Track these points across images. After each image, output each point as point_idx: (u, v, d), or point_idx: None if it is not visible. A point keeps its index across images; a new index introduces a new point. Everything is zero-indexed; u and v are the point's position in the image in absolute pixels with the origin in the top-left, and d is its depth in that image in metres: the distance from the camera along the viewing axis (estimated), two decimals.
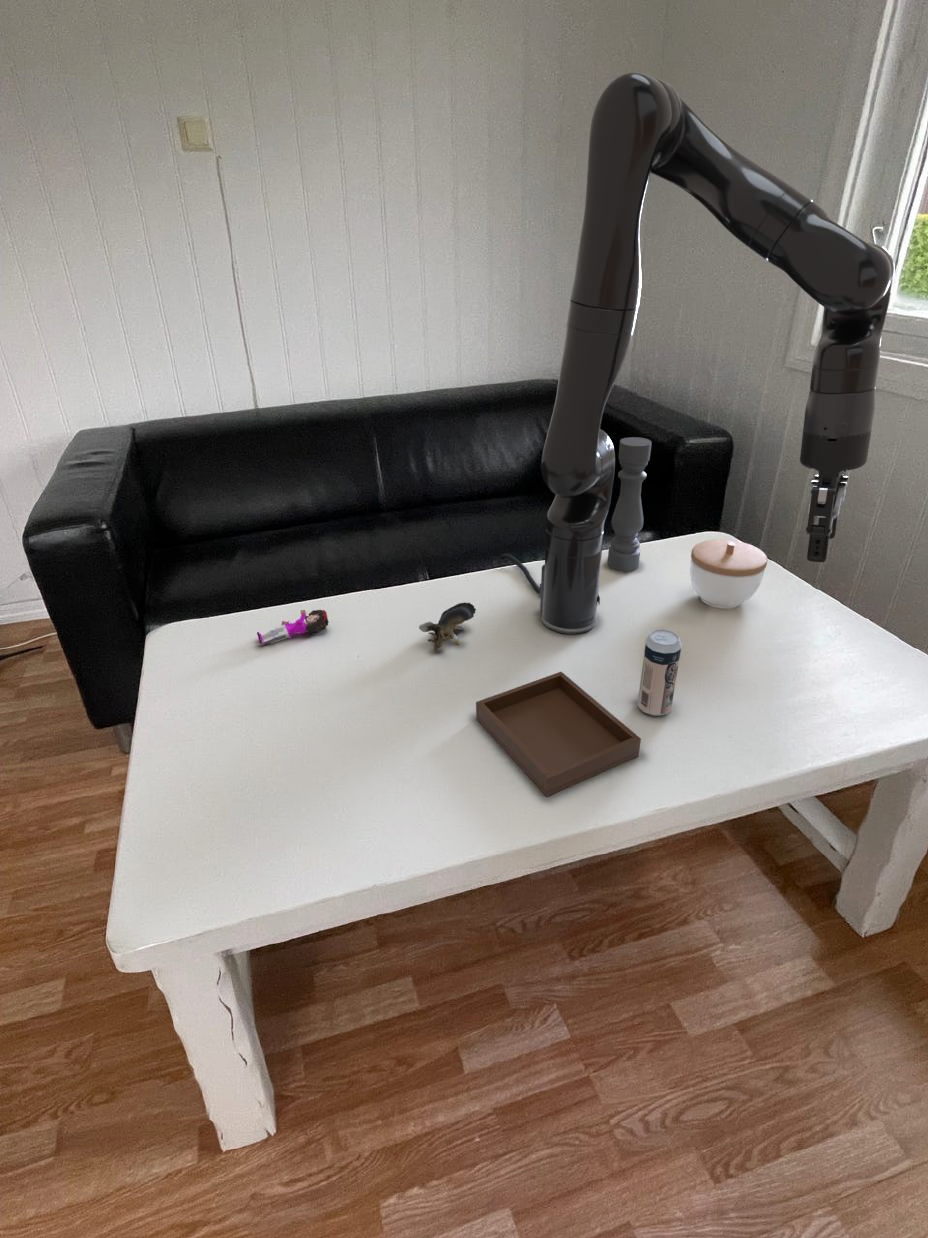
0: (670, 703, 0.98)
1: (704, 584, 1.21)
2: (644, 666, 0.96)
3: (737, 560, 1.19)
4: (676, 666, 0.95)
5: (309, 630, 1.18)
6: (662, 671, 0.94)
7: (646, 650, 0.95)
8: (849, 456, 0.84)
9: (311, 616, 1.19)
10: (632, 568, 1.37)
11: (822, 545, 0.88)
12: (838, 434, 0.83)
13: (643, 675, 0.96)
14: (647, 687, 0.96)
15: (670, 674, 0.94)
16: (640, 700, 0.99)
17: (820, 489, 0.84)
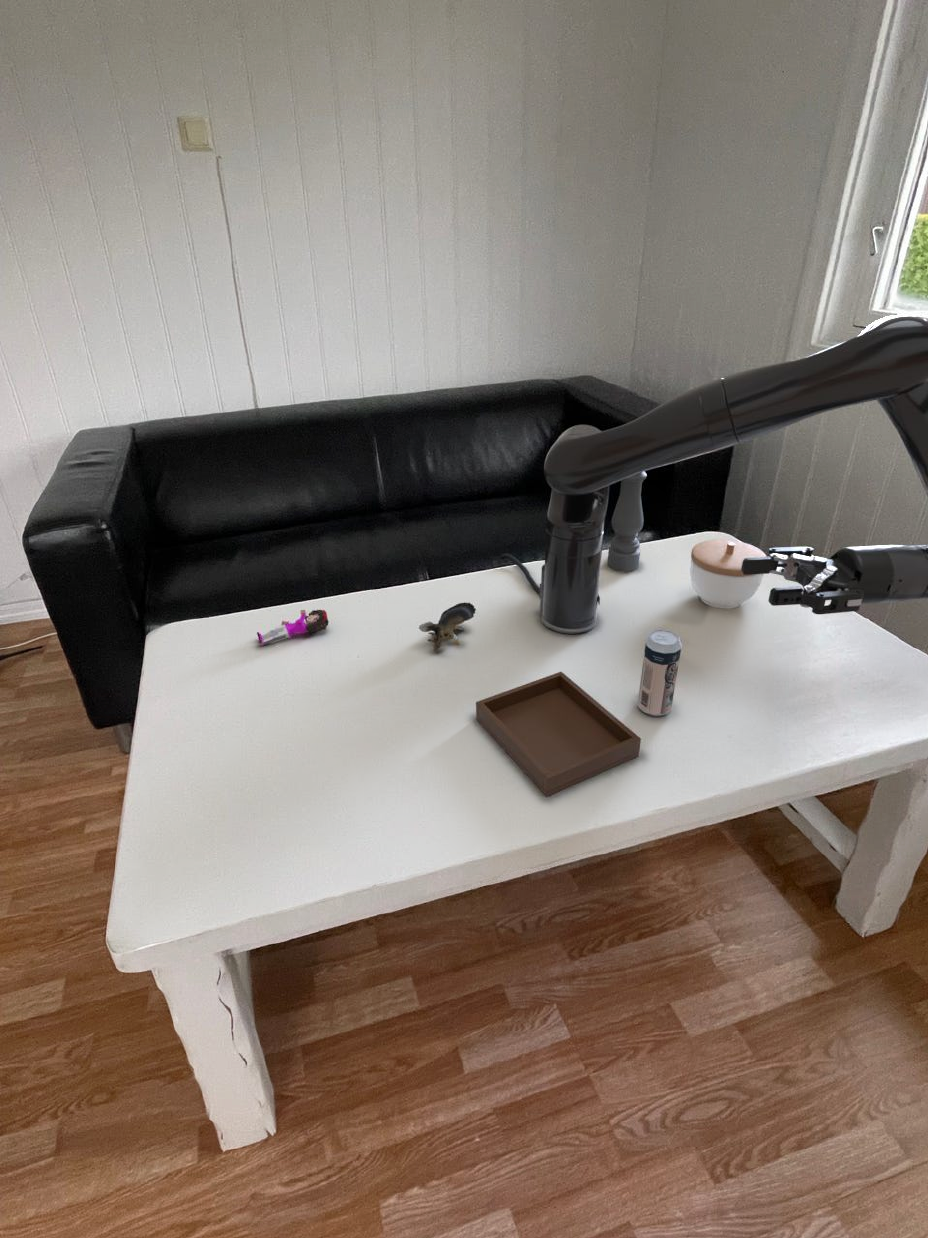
0: (670, 703, 0.98)
1: (704, 584, 1.21)
2: (644, 666, 0.96)
3: (737, 560, 1.19)
4: (676, 666, 0.95)
5: (309, 630, 1.18)
6: (662, 671, 0.94)
7: (646, 650, 0.95)
8: (865, 600, 0.89)
9: (311, 616, 1.19)
10: (632, 568, 1.37)
11: (793, 603, 0.86)
12: (892, 591, 0.88)
13: (643, 675, 0.96)
14: (647, 687, 0.96)
15: (670, 674, 0.94)
16: (640, 700, 0.99)
17: (862, 599, 0.85)
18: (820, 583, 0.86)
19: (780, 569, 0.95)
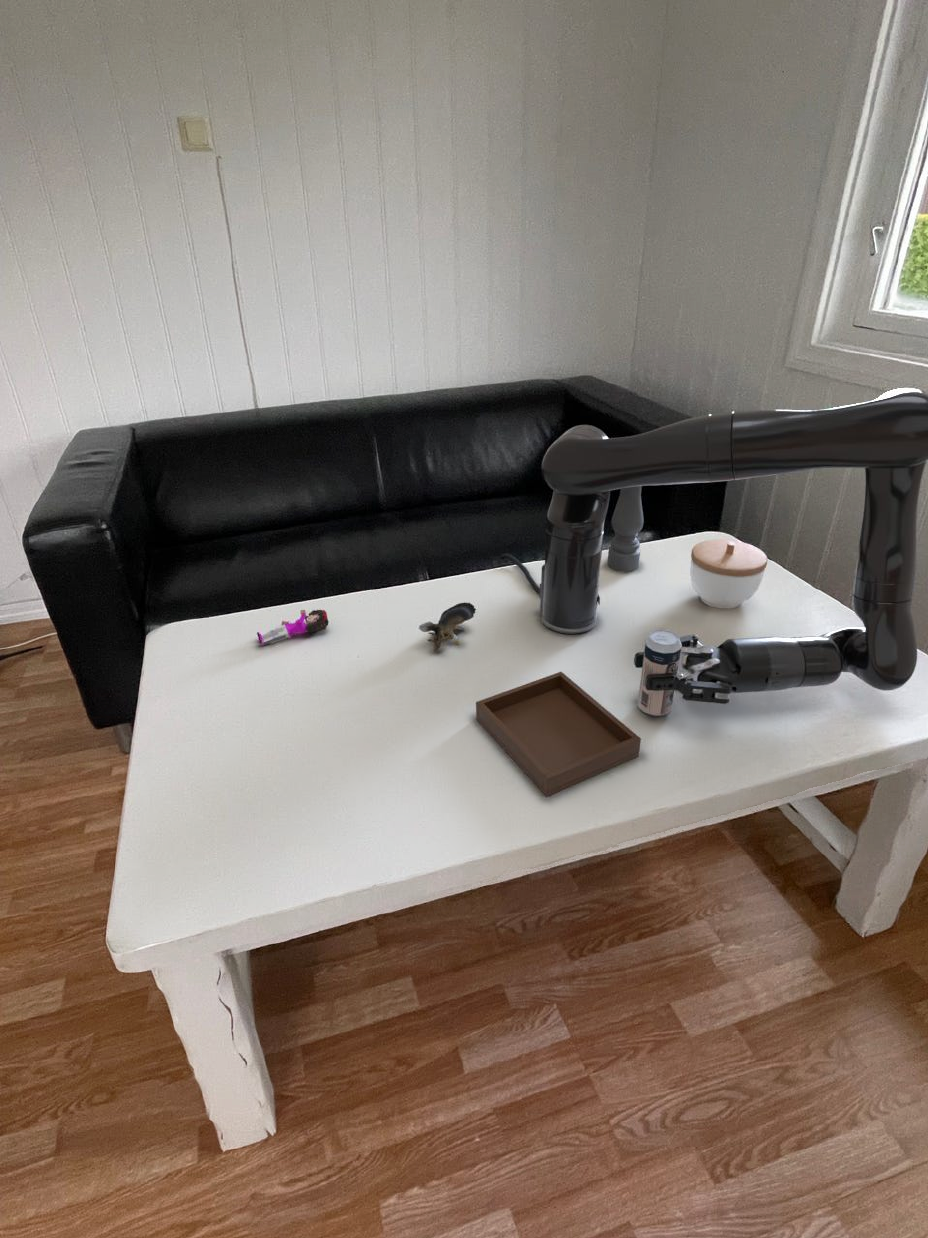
0: (670, 703, 0.98)
1: (704, 584, 1.21)
2: (644, 666, 0.96)
3: (737, 560, 1.19)
4: (676, 666, 0.95)
5: (309, 630, 1.18)
6: (662, 671, 0.94)
7: (646, 650, 0.95)
8: (747, 690, 0.96)
9: (311, 616, 1.19)
10: (632, 568, 1.37)
11: (666, 689, 0.94)
12: (770, 683, 0.94)
13: (643, 675, 0.96)
14: None
15: None
16: (640, 700, 0.99)
17: (729, 694, 0.91)
18: (693, 673, 0.94)
19: None
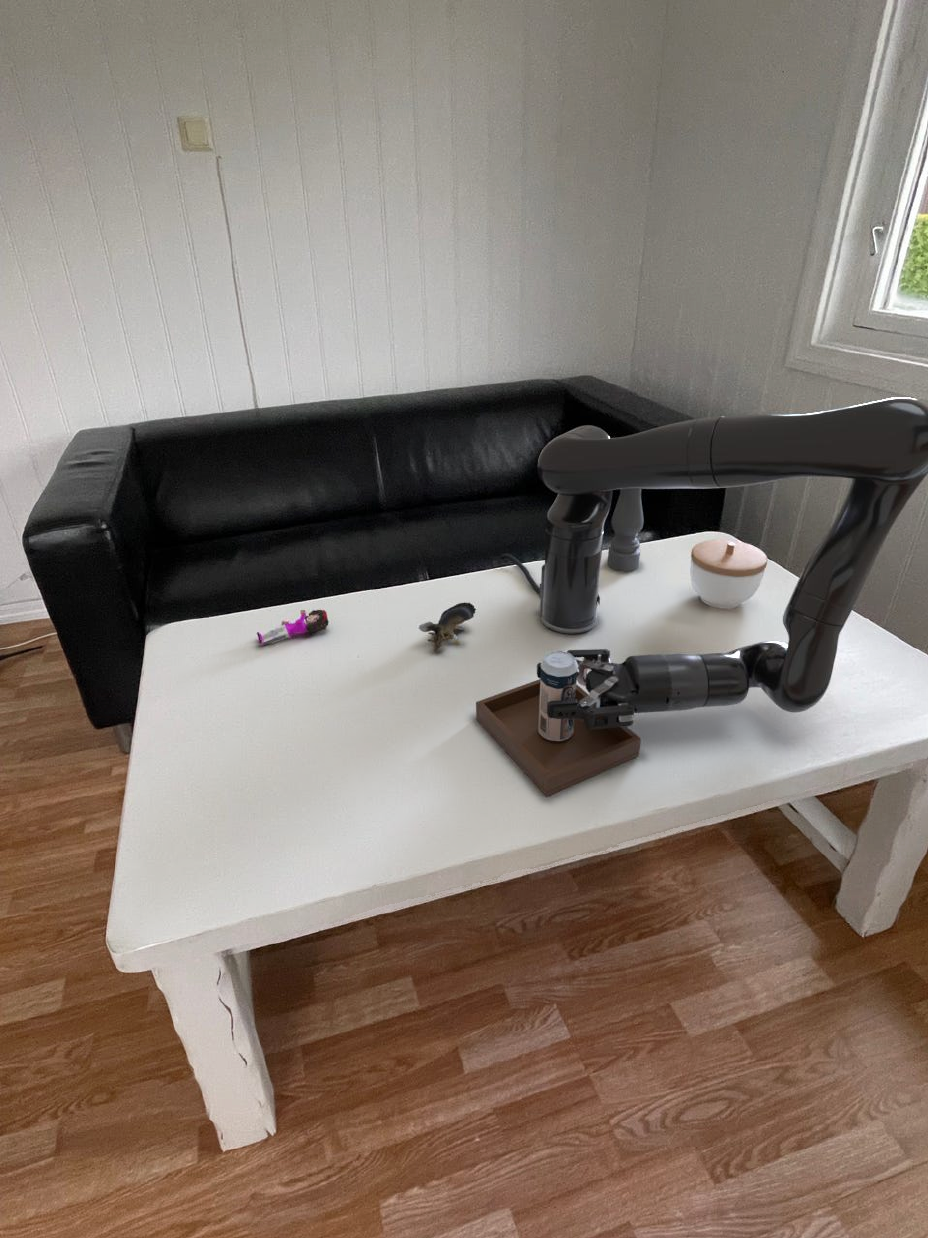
0: (570, 728, 0.92)
1: (704, 584, 1.21)
2: (540, 689, 0.90)
3: (737, 560, 1.19)
4: (573, 690, 0.89)
5: (309, 630, 1.18)
6: (558, 696, 0.89)
7: (541, 673, 0.89)
8: (648, 711, 0.90)
9: (311, 616, 1.19)
10: (632, 568, 1.37)
11: (569, 717, 0.87)
12: (671, 703, 0.89)
13: (540, 698, 0.91)
14: (544, 711, 0.91)
15: (566, 698, 0.89)
16: (539, 725, 0.93)
17: (633, 715, 0.86)
18: (596, 697, 0.87)
19: None
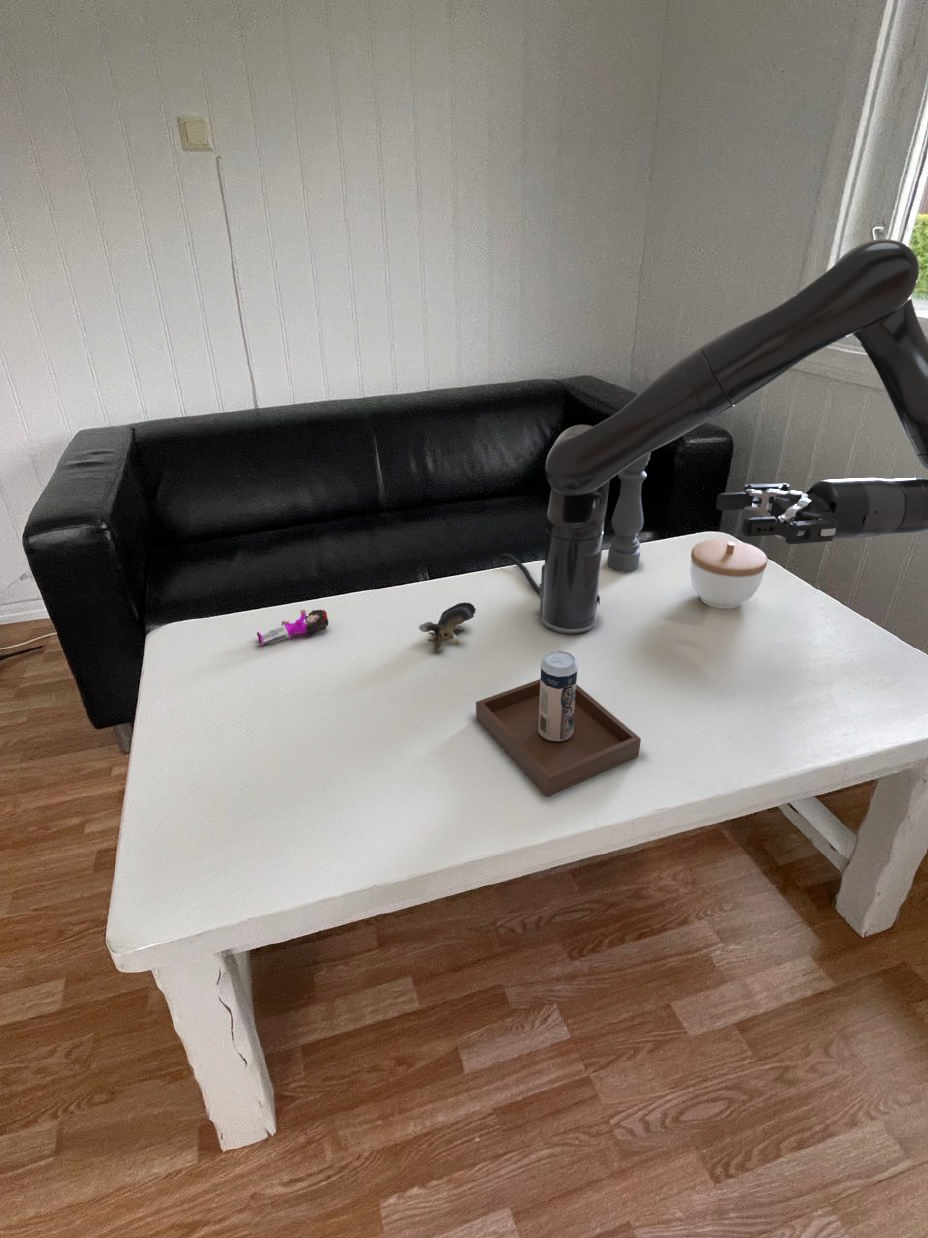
0: (570, 728, 0.92)
1: (704, 584, 1.21)
2: (540, 689, 0.90)
3: (737, 560, 1.19)
4: (573, 690, 0.89)
5: (309, 630, 1.18)
6: (558, 696, 0.89)
7: (541, 673, 0.89)
8: (840, 533, 0.88)
9: (311, 616, 1.19)
10: (632, 568, 1.37)
11: (767, 534, 0.85)
12: (867, 523, 0.87)
13: (540, 698, 0.91)
14: (544, 711, 0.91)
15: (566, 698, 0.89)
16: (539, 725, 0.93)
17: (835, 528, 0.84)
18: (794, 513, 0.85)
19: (755, 505, 0.93)
